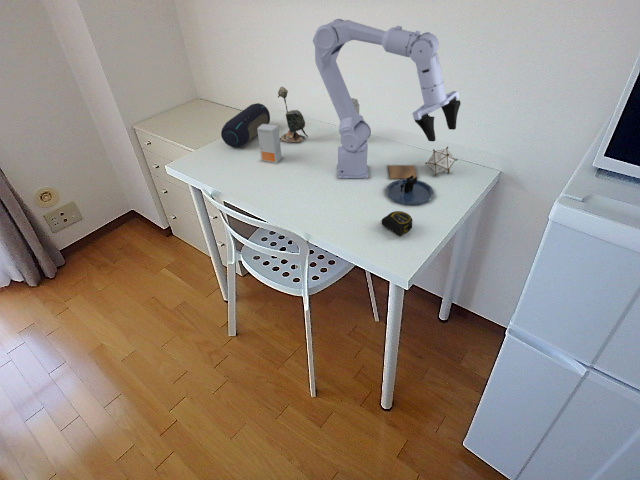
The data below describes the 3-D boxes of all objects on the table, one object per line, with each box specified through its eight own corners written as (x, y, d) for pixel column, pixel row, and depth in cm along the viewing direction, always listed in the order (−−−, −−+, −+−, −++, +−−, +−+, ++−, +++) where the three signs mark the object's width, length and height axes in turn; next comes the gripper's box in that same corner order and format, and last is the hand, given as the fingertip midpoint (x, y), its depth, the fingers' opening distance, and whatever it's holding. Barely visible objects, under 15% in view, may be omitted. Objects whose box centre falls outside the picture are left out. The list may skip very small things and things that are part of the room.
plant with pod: (298, 147, 146) (294, 92, 133) (276, 140, 152) (270, 86, 139) (313, 140, 150) (310, 85, 138) (291, 132, 156) (286, 80, 144)
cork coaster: (390, 179, 125) (390, 178, 125) (388, 166, 132) (388, 165, 132) (417, 179, 125) (417, 178, 124) (414, 166, 131) (414, 165, 131)
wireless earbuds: (414, 186, 121) (416, 171, 117) (420, 189, 119) (422, 174, 116) (398, 194, 117) (399, 179, 114) (404, 198, 116) (406, 182, 113)
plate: (388, 205, 114) (388, 202, 113) (385, 181, 124) (386, 178, 123) (435, 205, 113) (436, 202, 112) (429, 182, 123) (429, 179, 122)
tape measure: (379, 227, 106) (380, 216, 103) (398, 218, 109) (400, 207, 106) (397, 240, 101) (398, 228, 99) (417, 230, 104) (418, 218, 102)
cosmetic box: (261, 161, 138) (256, 128, 131) (267, 155, 141) (262, 123, 134) (276, 163, 136) (272, 130, 129) (282, 158, 140) (278, 125, 132)
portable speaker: (244, 152, 144) (240, 126, 138) (220, 149, 147) (215, 123, 141) (275, 126, 162) (272, 101, 156) (253, 123, 165) (249, 99, 159)
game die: (443, 185, 128) (458, 171, 119) (418, 175, 128) (432, 160, 118) (449, 162, 131) (465, 147, 122) (425, 152, 131) (439, 136, 121)
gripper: (421, 95, 98) (432, 147, 104) (464, 73, 102) (472, 124, 108) (403, 96, 104) (414, 145, 110) (444, 75, 108) (453, 123, 114)
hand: (442, 134), depth 109 cm, fingers open, 7 cm apart
